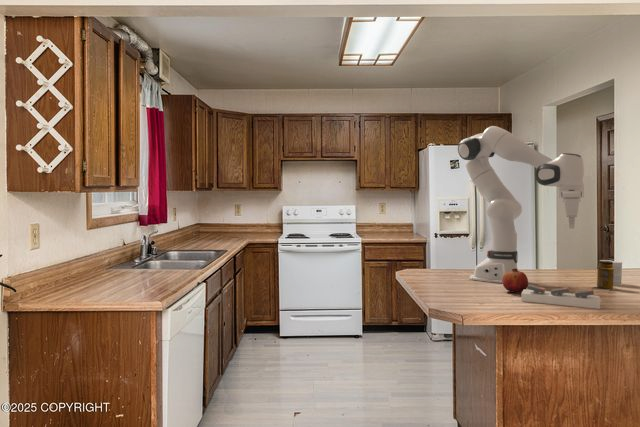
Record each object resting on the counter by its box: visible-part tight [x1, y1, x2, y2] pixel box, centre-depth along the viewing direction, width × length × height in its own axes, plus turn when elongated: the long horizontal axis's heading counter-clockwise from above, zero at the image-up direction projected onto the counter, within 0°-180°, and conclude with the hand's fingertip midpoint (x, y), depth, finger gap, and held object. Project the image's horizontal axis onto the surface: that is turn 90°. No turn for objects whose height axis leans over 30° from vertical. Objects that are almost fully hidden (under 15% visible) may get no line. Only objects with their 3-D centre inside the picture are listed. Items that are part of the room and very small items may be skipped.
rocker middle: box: [550, 286, 570, 294], centre depth 179 cm, size 6×4×1 cm, turn 62°
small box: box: [598, 259, 623, 287], centre depth 219 cm, size 8×6×10 cm
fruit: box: [502, 268, 529, 294], centre depth 199 cm, size 11×10×10 cm
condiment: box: [590, 260, 617, 292], centre depth 208 cm, size 7×8×12 cm
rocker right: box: [574, 288, 595, 296], centre depth 176 cm, size 6×4×1 cm, turn 61°
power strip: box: [520, 289, 601, 310], centre depth 180 cm, size 26×9×4 cm, turn 62°
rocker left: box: [526, 283, 546, 293], centre depth 183 cm, size 6×4×1 cm, turn 62°
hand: (571, 228), depth 192 cm, fingers open, 8 cm apart
